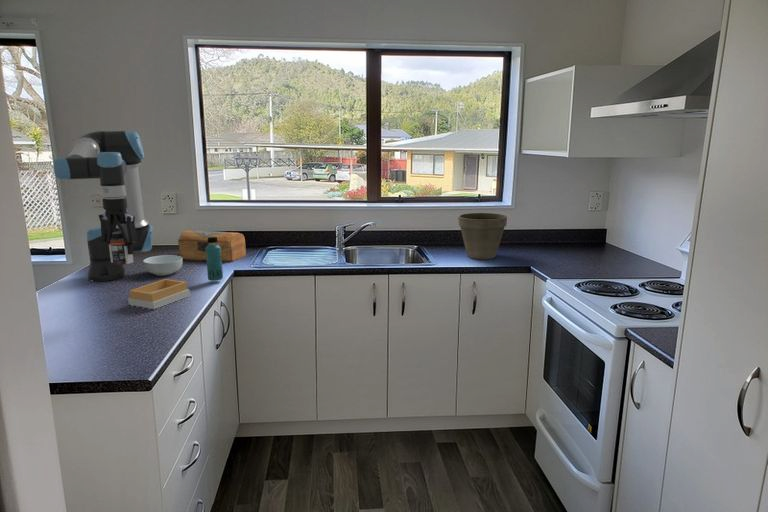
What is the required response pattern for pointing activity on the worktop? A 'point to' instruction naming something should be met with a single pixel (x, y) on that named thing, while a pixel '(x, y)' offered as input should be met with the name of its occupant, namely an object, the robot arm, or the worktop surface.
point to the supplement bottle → (118, 248)
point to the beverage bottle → (214, 260)
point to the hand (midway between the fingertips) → (122, 262)
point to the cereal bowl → (163, 264)
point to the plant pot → (482, 233)
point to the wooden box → (197, 241)
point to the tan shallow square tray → (159, 293)
